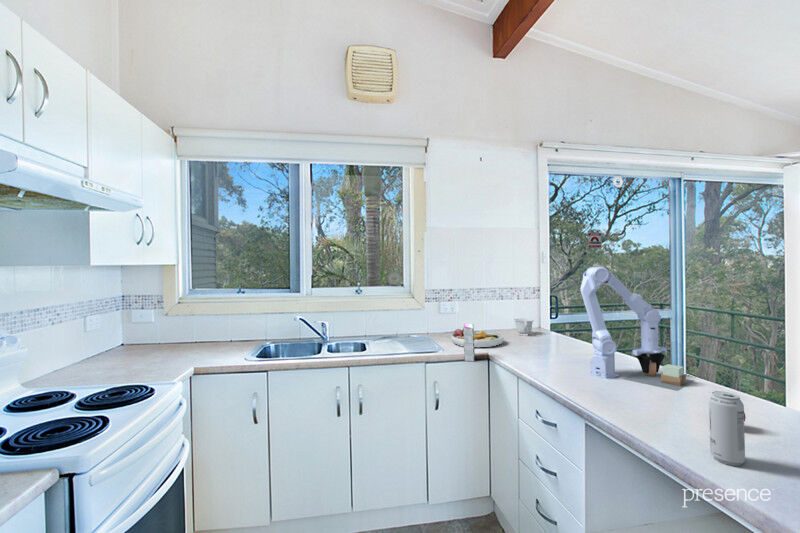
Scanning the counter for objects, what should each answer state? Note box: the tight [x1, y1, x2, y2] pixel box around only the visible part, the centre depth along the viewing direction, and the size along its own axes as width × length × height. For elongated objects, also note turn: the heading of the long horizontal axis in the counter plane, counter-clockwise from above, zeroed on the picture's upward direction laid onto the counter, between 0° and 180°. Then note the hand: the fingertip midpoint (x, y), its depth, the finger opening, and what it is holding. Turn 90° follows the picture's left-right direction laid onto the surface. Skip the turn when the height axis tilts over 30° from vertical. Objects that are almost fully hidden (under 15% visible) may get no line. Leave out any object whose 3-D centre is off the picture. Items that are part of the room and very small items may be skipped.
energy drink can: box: [708, 390, 746, 467], centre depth 85 cm, size 6×6×15 cm
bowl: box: [450, 328, 504, 348], centre depth 219 cm, size 30×30×8 cm
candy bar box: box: [462, 323, 476, 362], centre depth 183 cm, size 11×5×16 cm, turn 168°
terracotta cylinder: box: [644, 360, 657, 377], centre depth 148 cm, size 4×4×5 cm
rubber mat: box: [622, 370, 695, 392], centre depth 142 cm, size 18×18×1 cm
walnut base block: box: [660, 373, 687, 386], centre depth 138 cm, size 6×6×3 cm
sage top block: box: [662, 363, 685, 378], centre depth 138 cm, size 5×5×3 cm
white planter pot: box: [513, 317, 534, 335], centre depth 239 cm, size 12×15×10 cm
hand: (650, 372), depth 148 cm, fingers closed on terracotta cylinder, 4 cm apart
